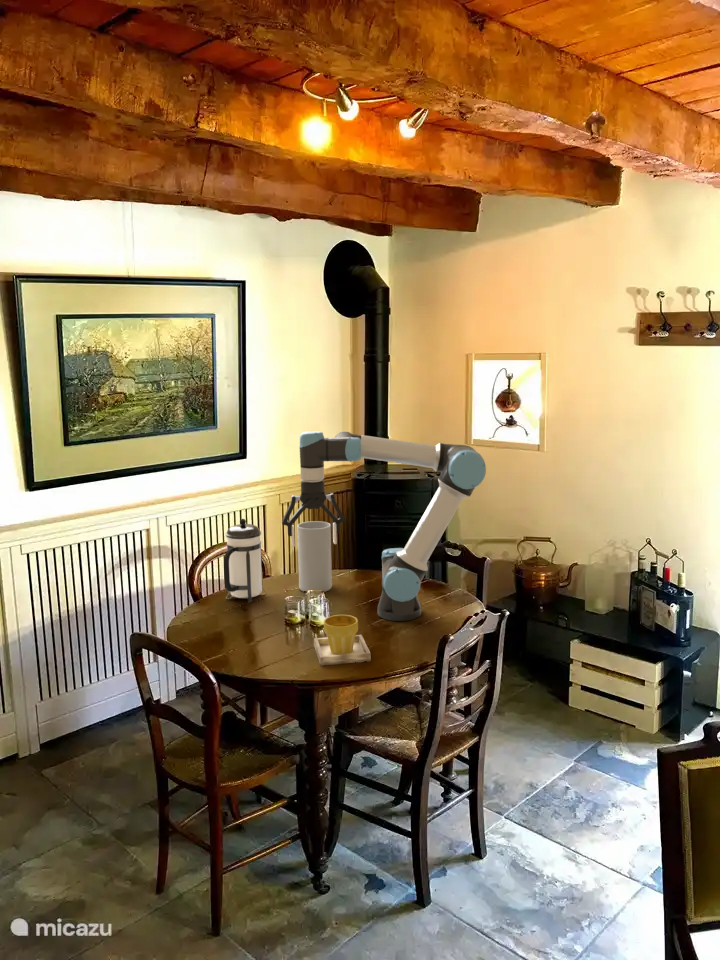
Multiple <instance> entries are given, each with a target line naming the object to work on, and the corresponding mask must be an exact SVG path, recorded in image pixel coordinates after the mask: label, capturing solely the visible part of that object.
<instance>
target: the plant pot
mask: <svg viewBox="0 0 720 960" xmlns="http://www.w3.org/2000/svg"><path fill="white" fill-rule="evenodd" d="M323 631H324V632H323V633H324V634H326V636H327V638H328V642H329V646H330V650H331V652H332V653H333V654H336V655H340V654H349V653H351V652H352V650H353V645H354V640H355V635H357V633H358V631H359V620H358V618H357V617H356V616H353V615H349V614H335V615H330V616H328V617H326V618H325V619H324V620H323Z"/></svg>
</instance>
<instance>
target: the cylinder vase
mask: <svg viewBox="0 0 720 960" xmlns="http://www.w3.org/2000/svg"><path fill="white" fill-rule="evenodd" d="M331 528H332V527H331V523H329V522H327V521H320V520H317V521H316V520H314V521H313V520H311V521H304V522H301V523H300V522H299V523H297V552H298V553H297V554H298V555H297V557H298V559H297V560H298V587H299V590H301V591H302V592H304V591H308V590H322V591H324V592H323V593H325V592H327V591H330V590H331V589H332V587H333V580H332V579H333V578H332V576H333V575H332V540H331V539H332V537H331V536H332V535H331V534H332V533H331Z"/></svg>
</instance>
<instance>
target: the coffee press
mask: <svg viewBox="0 0 720 960" xmlns="http://www.w3.org/2000/svg"><path fill="white" fill-rule="evenodd" d="M261 535H262V531H261V530H260V528H259V527H258V526H257V525H255V524H250V523H247V521H246V519H245V518H241V519H240V520H239V524H234V525H232V526H230V527H229V528H228V529H227V531H226V532H225V537H226V552H225V555H224V558H223V577H224V586H225V587H224V588H225V590H226V591H227V592H228V593H227V594H226V596H225V599H226V600H227V599H228V597H229V595H231V596H230V597H229V598H230V600H232V598H236V599H237V598H238V599H247V603H248V602H249V603H248V604H253V598H254V597H257V596H259V595H262V591H263V592H264V594H265V596H266V595H267V592H266V591H265V590H264V587H263V564H262V563H263V562H262V542H261Z"/></svg>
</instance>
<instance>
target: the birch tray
mask: <svg viewBox="0 0 720 960" xmlns="http://www.w3.org/2000/svg"><path fill="white" fill-rule="evenodd" d="M313 647H314V650H315V653H316V656H317V659H318V662H319V666H330V665H341V664H354V663H355V662H356V663H364V661H367V662H371V657H372V656H371V655H372V654H371V651H370V649H369V647H368V645H367V644H366V641H365V639H364V637H363V634H356V635H355V640H354V645H353V650H352V652H351V653H349V654H340V655H336V654H333V653H332V652H331V650H330V646H329V642H328V638H327V637H326V636H325V637H316V638H315V637H314V638H313Z"/></svg>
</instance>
